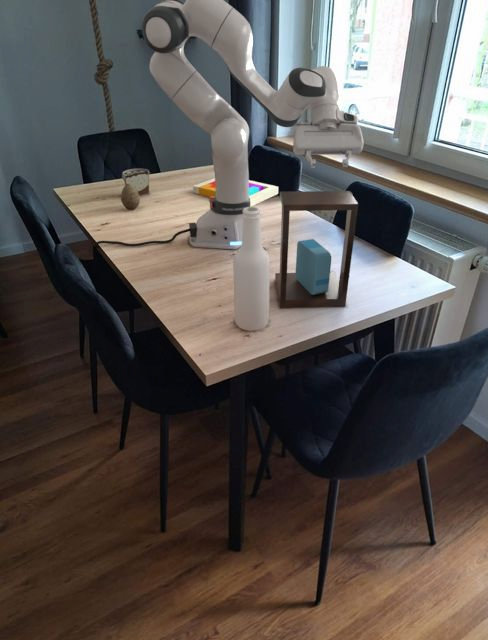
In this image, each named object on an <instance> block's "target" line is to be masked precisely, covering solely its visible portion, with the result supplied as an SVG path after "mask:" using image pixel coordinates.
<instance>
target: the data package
mask: <svg viewBox="0 0 488 640" xmlns="http://www.w3.org/2000/svg"><path fill="white" fill-rule="evenodd" d="M331 266H332V254H331V252H330V251H329V250H327V249H326V248H325V247H324V246H323V245H322V244H320V243H319V242H318V241H316V240H315V239H314V238H311V239H303V240H298V242H297V243H296V259H295V273H296V279H297V280H298V281H299V282H300V283H301V284H302V285H303V286H304V288H305V289H306V290H307V291H308V292H309V293H310V294H311V295H316V294H321V293H326V292H328V288H329V278H330V272H331Z"/></svg>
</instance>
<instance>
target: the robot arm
mask: <svg viewBox="0 0 488 640" xmlns="http://www.w3.org/2000/svg"><path fill="white" fill-rule="evenodd" d="M141 33H142V37H143V40H144V41H145V43H146V44H147V45H148V47H149V48H150V49H151V50H152V51H154V53H153V54H152V56H151V57H150V61H149V65H148V66H149V67H148V68H149V72H150V74H151V76H152V77H153V79H154V81H155V82H156V83H157V84H158V86H159V87H160V89H161V90H162V91H163V93H165V96H167V97H168V98H169V99H170V100H171V101H172V102H173V103H174V104H175V106H177V108H178V109H179V110H180V111H181V112H182V113H183V114H184V115H185V116H186V117H187V119H189V120H190V121H191V122H192V123H194V124H196V125H197V126H198V127H200V129H202V130H203V131H204V132H206V133H207V134H208V135H209V136H210V145H211V147H210V148H211V157H212V165H213V173H214V178H215V189H216V197H214V196H210V197H208V202H209V210H207V211H206V212H205V213H204V214H202V215H201V216H200V217H198V219H197V221H196V222H189V223H188V228H186V229H183V230H179V231H177V232H176V233H174V235H173V236H172V237H171V238H170V239H167V240H148V241H144V242H138V243H137V242H136V243H127V242H122V241H119V240H118V241H117V240H98V241H96V242H94V243H93V244H92V245H91V249H92V248H95V247H96V246H98V245H100V244H109V245H119V246H124V247H141V246H146V245H152V244H169V243H172V242H173V241H174V240H175V239H176V238H177V237H178V236H180V235H181V234H185V233H188V232H189V239H188V242H189V244H190V245H191V247H194V248H206V249H219V250H220V249H221V250H223V249H224V250H238V249H239V248H240V247H241V244H242V230H243V209H244V208H246V207H252V206H251V202H250V198H249V180H250V173H249V172H250V171H249V151H248V149H249V148H248V147H249V139H250V128H249V125H248V122H247V121H246V120H245V118H244V117H242V116H241V115H240V113H239V112H238V111H237V110H236V109H235V108H234V107H232V105H231V104H229V103H228V101H226V100H225V99H224V98H223V97H222V96H221V95H219V94H218V93H217V91H216V90H215V89H214V88H213V87H212V86H211V85H210V84H209V82H207V80H205V78H204V77H203V76H202V74H200V72H199V71H197V69H196V68H195V66H193V65H192V64H191V62H190V61H189V60H188V58H187V57H186V55H185V50H187V48H188V46H189V42H190V39H191V37H196V38H198V39H200V40H201V41H202V42H204V43H205V44H206V45H208V46H209V47H210V48H211V49H212V50H213V51H215V52H216V53H217V54H218V55H219V56H220V57H221V59H222V60H223V62H224V63H225V65H226V66H227V70H228V72H229V74H230V75H231V76H232V78H233V79H234V81H236V82H237V84H239V85H240V86H241V87H242V89H244V91H245V92H247V93H248V94H249V95H250V96H251V97H252V99H253V100H255V101H256V102H257V103H258V105H259V106H260V107H262V109H263V110H264V111H265V112H266V114H267V115H268V116H269V118H270V119H271V121H272V122H273V123H274V124H275V125H277V126H279V127H282V128H290V129H291V131H290V132H291V136H292V137H293V143H292V152H293V153H294V154H295V155H296V156H305V159H306V161H307V162H308V163H309V168H311V169H315V168H316V166H317V160H316V159H313V158H312V156H319V155H321V156H323V155H325V156H328V155H329V156H330V155H332V156H335V155H336V156H337V155H340V156H342V155H344V159H342V161H341V165H342V167H341V168H343V169H344V168H346V169H347V168H348V167H349V160H350V159H351V156H352V155H360V154H361V152H363V149H364V137H363V132H362V129H361V127H360V125H359V124H358V123H359V122H358V121H359V116H357V115H356V114H353V113H350V112H347V111H344V110H342V108H341V106H340V102H341V93H340V92H341V90H340V83H339V79H338V76H337V74H336V72H335V71H334V69H332V67H329V66H326V65H320V66H319V65H318V66H317V67H315V68H313V69H309V68H307V67H295V68H293V69H292V70H290V72H289V74H288V75H287V76H286V78H285V79H284V80H283V81H282V84H281V85H280V87H279V88H278V89H277V90H276V89H274V87H272V86H271V85H270V83H268V82H267V81H266V79H264V77H263V76H262V75H260V73H259V72H258V71H257V70H256V68H255V66H254V62H253V49H254V46H253V45H254V35H253V30H252V27H251V25H250V22H249V21H248V20H247V18H246V17H245V16H243V14H242V13H240V12H239V11H238V10H237V9H236V8H234V7H233V6H232V5H231V4H229V3H228V2H226V0H185V2H183V1H181V0H163V1H160V2H158V3H156V4H154V6H153V7H151V8H149V9H148V10H147V11H146V13H145V14H144V16H143V18H142V22H141ZM306 110H309V112H310V122H299V120H300V119H301V117H302V115H303V113H304V112H305V111H306Z"/></svg>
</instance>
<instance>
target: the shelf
mask: <svg viewBox="0 0 488 640" xmlns="http://www.w3.org/2000/svg"><path fill="white" fill-rule="evenodd" d="M279 199H280V204H281V222H280V223H281V224H280V226H281V227H280V247H279V249H280V250H279V251H280V253H279V272H276V273H275V274H274V282H275V286H276V293H277V294H276V295H277V300H278V305H279V309H296V308H297V309H300V308H343V307H344V308H345V307H346V305H347V304H346V303H347V297H348V296H347V295H348V289H349V288H348V287H349V281H350V274H351V273H350V272H351V266H352V257H353V249H354V242H355V233H356V225H357V219H358V218H357V217H358V209H359V203H358V201H357V200H356V198H355V197H354V196H353V193H352V192H351V190H314V191H313V190H312V191H311V190H309V191H307V190H306V191H279ZM310 211H311V212H314V211H315V212H316V211H320V212H321V211H322V212H323V211H346V219H345V228H344V235H343V236H344V238H343V246H342V255H341V264H340V270H339V271H340V272H339V278H338V275H337V272H336V271H330V278H329V288H328V292H326V293H321V294H316V295H311V294H310V293H309V292H308V291H307V290H306V289H305V288H304V286H303V285H302V284H301V283H300V282H299V281H298V280H297V279H296V272H288V261H289V260H288V257H289V237H290V235H289V234H290V215H291V214H290V213H291V212H310Z"/></svg>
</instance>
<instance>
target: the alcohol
mask: <svg viewBox="0 0 488 640" xmlns="http://www.w3.org/2000/svg"><path fill="white" fill-rule="evenodd" d="M232 269H233V270H232V272H233V303H234V305H233V307H234V309H233V310H234V322H235V324H236V325H237V327H238V328H240V329H242V330H244V331H248V332H256V331H260V330H262V329H264V328H265V327H266V326H267V325H268V323H269V321H270V283H271V282H270V281H271V280H270V279H271V278H270V277H271V274H270V273H271V260H270V255H269V253H268V251H267V250H266V249H265V248H264V247H263V244H262V231H261V209H259V207H256V206H251V207H246V208H244V209H243V230H242V244H241V246H240V247H239V248H238V249H237V250H236V252H235V253H234V256H233V261H232Z"/></svg>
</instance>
